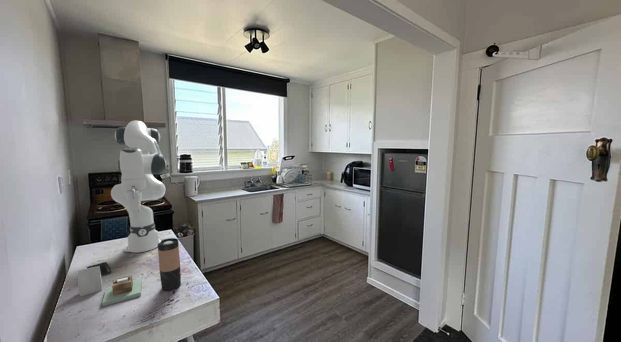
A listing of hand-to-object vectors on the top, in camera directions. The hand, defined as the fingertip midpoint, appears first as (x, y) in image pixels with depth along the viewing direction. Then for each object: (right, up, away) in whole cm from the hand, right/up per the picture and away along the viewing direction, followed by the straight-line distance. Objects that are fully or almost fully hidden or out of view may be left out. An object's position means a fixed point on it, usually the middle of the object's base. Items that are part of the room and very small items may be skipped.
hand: (136, 214), depth 113 cm
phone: (-24, -29, +7) cm, 38 cm away
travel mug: (+19, -30, -6) cm, 36 cm away
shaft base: (+2, -30, -11) cm, 32 cm away
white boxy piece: (-12, -30, -9) cm, 34 cm away
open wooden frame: (+2, -29, -11) cm, 31 cm away
